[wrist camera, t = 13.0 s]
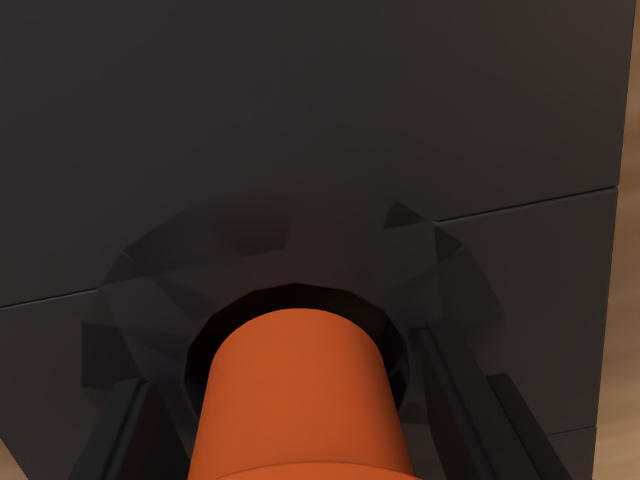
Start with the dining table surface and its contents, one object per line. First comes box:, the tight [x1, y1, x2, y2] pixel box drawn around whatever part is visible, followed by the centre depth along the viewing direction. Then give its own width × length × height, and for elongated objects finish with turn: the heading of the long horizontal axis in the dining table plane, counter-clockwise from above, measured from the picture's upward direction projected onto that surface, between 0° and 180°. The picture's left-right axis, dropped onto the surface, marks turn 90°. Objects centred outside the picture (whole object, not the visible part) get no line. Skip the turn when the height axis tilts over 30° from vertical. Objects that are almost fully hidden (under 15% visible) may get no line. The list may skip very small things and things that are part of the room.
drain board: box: [0, 0, 636, 480], centre depth 10 cm, size 24×14×2 cm, turn 11°
